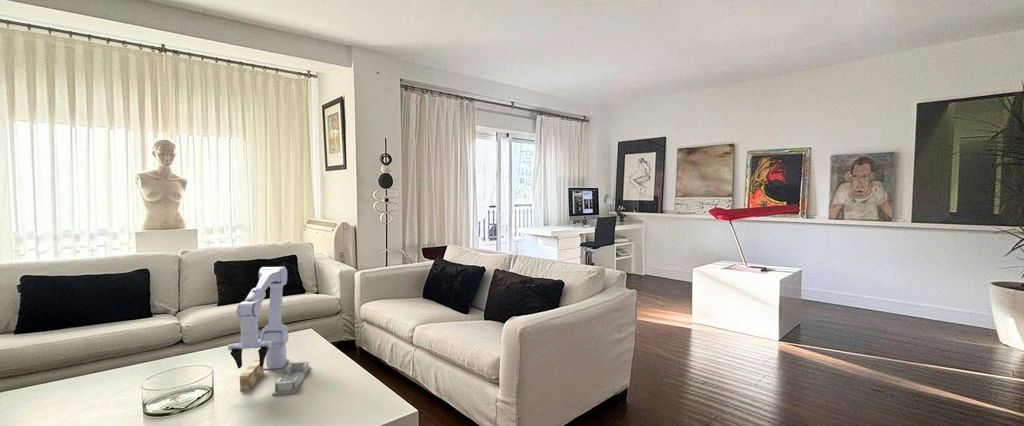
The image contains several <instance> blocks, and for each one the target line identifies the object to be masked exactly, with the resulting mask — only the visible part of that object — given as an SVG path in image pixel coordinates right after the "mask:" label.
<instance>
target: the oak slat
mask: <svg viewBox="0 0 1024 426" xmlns="http://www.w3.org/2000/svg"><path fill="white" fill-rule="evenodd" d="M263 368H264V365H263V366H262V367H260V359H255V360H254V361H253V362H252V363H251V364H250V365H249V366H248V367H247V368H246V369H245V370H244V371H243V372H242V373H241V374H240V376H239V390H240V391H241V392H243V391H250V390H251V388H253V386H254V385H255V384H256V382H258V380H259V379H260V377H261V376H262V375H263V374H264V370H263Z"/></svg>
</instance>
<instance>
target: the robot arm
mask: <svg viewBox="0 0 1024 426" xmlns="http://www.w3.org/2000/svg"><path fill="white" fill-rule="evenodd" d="M287 282H288V269H287V268H286V266H262V267H260V268H259V271H258V282H257V284H256V286H255V287H253V288H252V289H251V290H250V292H249V293H248V295H247V296H246V298H245V299H244V301H241V302H239V304H238V305H237V307H236V315H237V317H238V321H239V322H240V342H235V343H229V344H228V345H227V348H228V349H227V351H230V355H231V357H232V358H233V359H234V362H235V364H236V366H237V369H241V368H242V367H243V357H242V355H243V350H248V349H258V348H259V349H258V351H257V353H258V357H259V360H260V367H262V366H263V371H265V370H275V369H277V370H278V369H283V368H284V367H285V366H286V364H287V363H288V362H289V361H290V359H289V358H287V346H286V345H287V343H288V341H289V332H288V331H289V330H288V329H289V328H288V326H287V325H285V324H284V323H282V315H283V314H282V313H283V312H282V310H283V307H282V306H283V292H284V291H283V289H284V286H285V285H287ZM268 287H269V289H270V290H269V307H268V308H269V310H268V324H267V325H266V326H264V327H263V328H262V330H261V334H260V340H259V321H258V320H259V318H258V317H259V315H260V313H261V308H262V303H263V301H264V300H265V297H266V296H267V295H266V290H268ZM264 364H265V366H264Z"/></svg>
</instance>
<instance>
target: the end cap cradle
mask: <svg viewBox="0 0 1024 426" xmlns="http://www.w3.org/2000/svg"><path fill="white" fill-rule="evenodd" d="M311 369H312V366H311V365H310V366H309V361H300V362H299V361H298V362H290V363H289V364H288V366H287V367H286V374H285V376H284V377H279V378H277V380H276V382H275V383H274V391H273V392H272V393H271V396H272V397H275V396H284V395H285V396H287V395H295V394H297V391H298V390H299V388H300V387H301V386H302V384H303V382H304V380H305V379H306V377H307V375H308V373H309V372H310V371H311Z"/></svg>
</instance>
